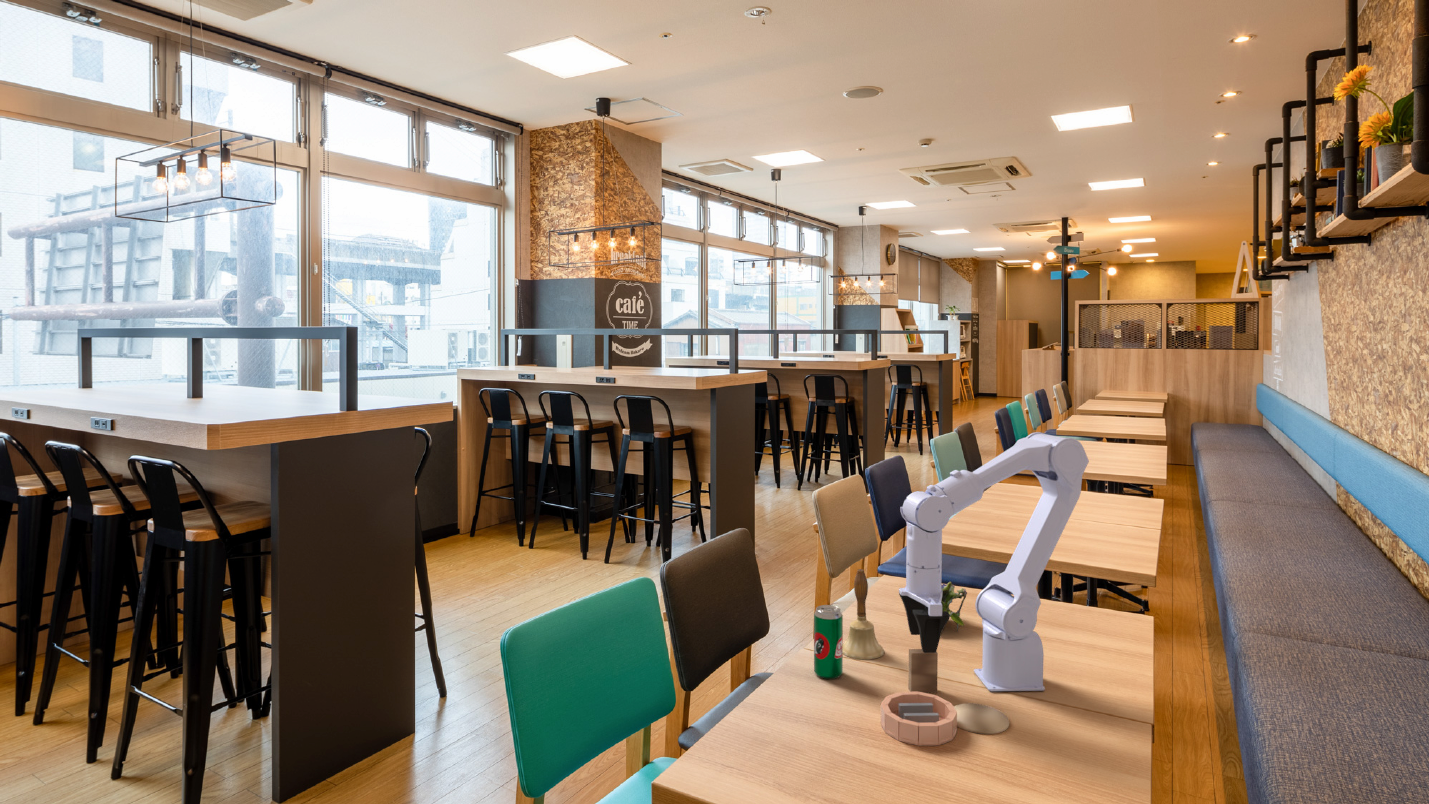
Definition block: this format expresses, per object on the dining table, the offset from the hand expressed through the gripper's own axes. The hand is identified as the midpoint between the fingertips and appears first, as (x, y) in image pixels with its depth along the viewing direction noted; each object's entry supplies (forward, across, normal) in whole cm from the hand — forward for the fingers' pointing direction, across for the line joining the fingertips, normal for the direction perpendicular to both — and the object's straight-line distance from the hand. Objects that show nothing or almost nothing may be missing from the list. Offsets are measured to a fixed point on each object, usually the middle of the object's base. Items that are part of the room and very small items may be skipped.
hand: (922, 642), depth 129 cm
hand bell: (+9, -17, -7) cm, 20 cm away
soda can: (+9, -7, -15) cm, 19 cm away
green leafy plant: (+9, -29, +12) cm, 33 cm away
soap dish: (+8, +12, -4) cm, 15 cm away
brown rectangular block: (+8, 0, 0) cm, 8 cm away
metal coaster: (+8, +10, +6) cm, 14 cm away
